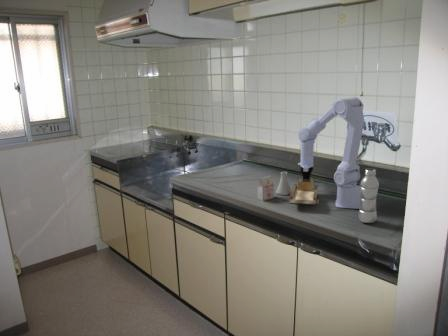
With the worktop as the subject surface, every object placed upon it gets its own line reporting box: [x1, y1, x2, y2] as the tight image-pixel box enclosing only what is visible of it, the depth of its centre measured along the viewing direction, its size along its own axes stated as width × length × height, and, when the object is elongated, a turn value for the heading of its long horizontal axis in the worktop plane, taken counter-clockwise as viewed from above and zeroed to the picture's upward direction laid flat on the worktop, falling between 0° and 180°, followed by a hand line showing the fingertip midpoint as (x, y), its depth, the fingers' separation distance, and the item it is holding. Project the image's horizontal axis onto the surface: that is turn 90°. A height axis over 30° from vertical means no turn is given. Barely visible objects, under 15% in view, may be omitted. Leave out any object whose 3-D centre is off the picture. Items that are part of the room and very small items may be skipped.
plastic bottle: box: [357, 167, 380, 224], centre depth 138 cm, size 6×7×20 cm
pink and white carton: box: [256, 175, 275, 202], centre depth 169 cm, size 4×7×10 cm, turn 125°
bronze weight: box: [297, 178, 314, 191], centre depth 169 cm, size 6×6×4 cm
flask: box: [275, 171, 292, 196], centre depth 175 cm, size 7×7×10 cm
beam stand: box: [289, 198, 320, 206], centre depth 163 cm, size 12×6×2 cm, turn 75°
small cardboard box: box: [289, 183, 318, 205], centre depth 163 cm, size 10×22×3 cm, turn 165°
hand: (306, 182), depth 175 cm, fingers closed
